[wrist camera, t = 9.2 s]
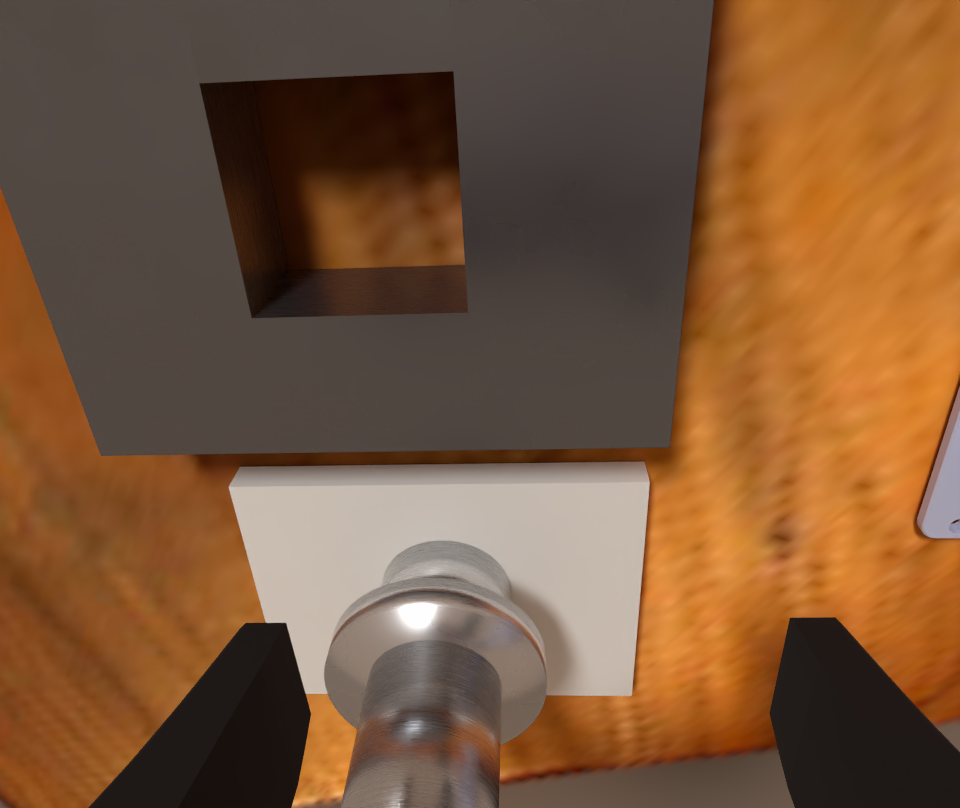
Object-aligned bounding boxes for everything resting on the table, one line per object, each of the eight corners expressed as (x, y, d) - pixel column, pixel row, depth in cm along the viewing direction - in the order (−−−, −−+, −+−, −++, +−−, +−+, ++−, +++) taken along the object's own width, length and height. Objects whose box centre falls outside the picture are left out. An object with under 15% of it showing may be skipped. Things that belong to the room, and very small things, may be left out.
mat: (644, 461, 21) (649, 482, 20) (627, 671, 26) (631, 696, 25) (239, 466, 22) (228, 486, 21) (293, 670, 27) (285, 693, 26)
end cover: (541, 512, 21) (553, 804, 14) (544, 655, 24) (555, 957, 17) (336, 515, 22) (241, 800, 14) (364, 656, 25) (297, 951, 17)
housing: (694, -166, 14) (733, -196, 11) (650, 386, 20) (669, 447, 17) (-10, -118, 15) (-121, -137, 12) (152, 395, 21) (101, 455, 18)
